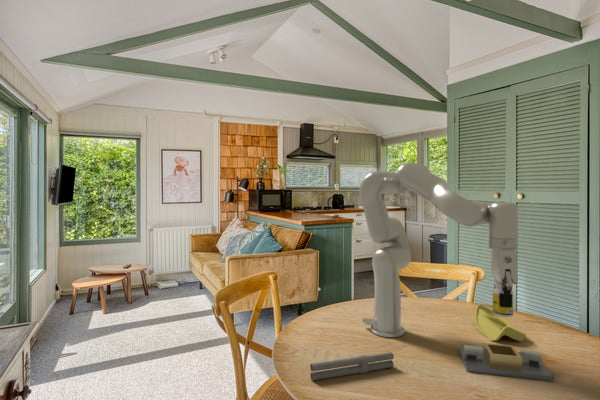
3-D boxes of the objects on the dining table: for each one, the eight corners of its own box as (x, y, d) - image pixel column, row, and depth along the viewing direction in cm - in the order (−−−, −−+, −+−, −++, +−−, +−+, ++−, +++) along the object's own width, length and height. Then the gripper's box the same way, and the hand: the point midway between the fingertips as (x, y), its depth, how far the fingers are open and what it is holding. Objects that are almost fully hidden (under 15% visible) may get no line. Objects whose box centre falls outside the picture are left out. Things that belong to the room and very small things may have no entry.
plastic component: (529, 336, 123) (504, 324, 123) (518, 354, 124) (493, 343, 123) (497, 312, 143) (475, 302, 142) (488, 328, 144) (466, 318, 143)
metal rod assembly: (313, 383, 98) (312, 365, 98) (309, 378, 101) (309, 360, 101) (395, 369, 106) (395, 353, 106) (390, 365, 108) (390, 349, 108)
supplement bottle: (491, 310, 111) (492, 279, 111) (512, 313, 109) (512, 281, 109) (493, 316, 106) (493, 283, 106) (514, 318, 104) (514, 285, 104)
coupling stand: (466, 371, 104) (466, 356, 104) (458, 350, 118) (458, 337, 117) (553, 381, 98) (553, 365, 98) (534, 358, 112) (534, 344, 112)
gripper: (527, 248, 98) (526, 314, 98) (508, 240, 114) (508, 296, 115) (496, 247, 100) (496, 312, 100) (482, 239, 116) (482, 294, 117)
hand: (502, 303), depth 107 cm, fingers closed on supplement bottle, 5 cm apart
